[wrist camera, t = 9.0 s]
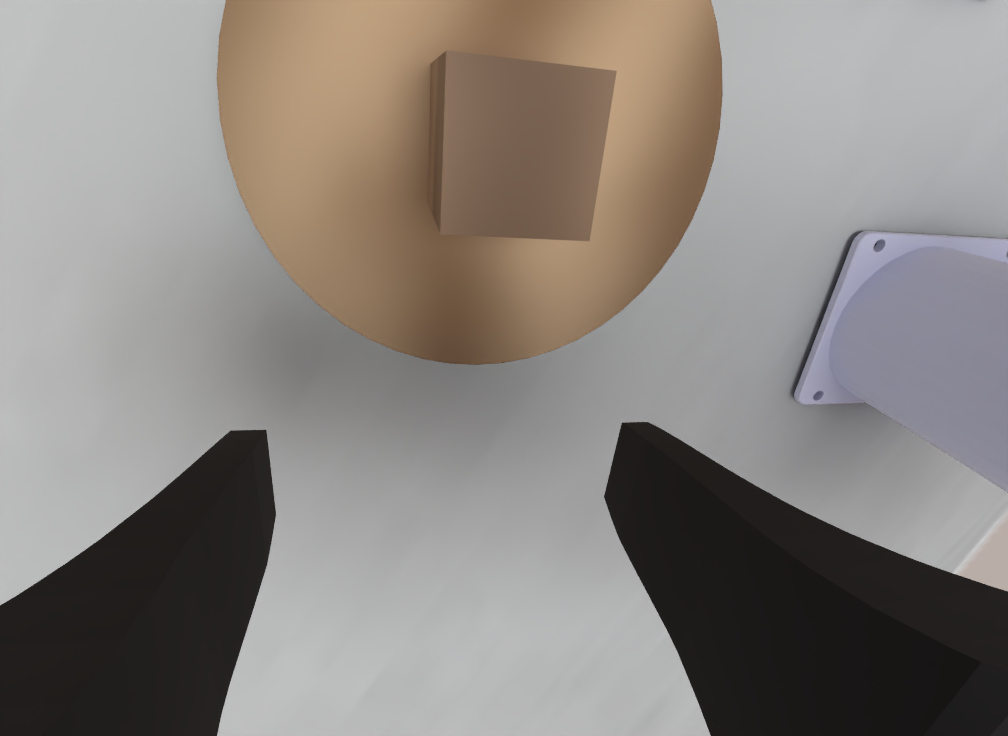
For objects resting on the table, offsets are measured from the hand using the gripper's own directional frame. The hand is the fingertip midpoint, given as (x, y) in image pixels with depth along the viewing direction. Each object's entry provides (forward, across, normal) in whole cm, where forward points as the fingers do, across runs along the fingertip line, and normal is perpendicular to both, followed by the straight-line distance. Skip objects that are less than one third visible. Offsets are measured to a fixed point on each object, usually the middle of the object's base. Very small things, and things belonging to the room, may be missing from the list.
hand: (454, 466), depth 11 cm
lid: (+6, -1, -6) cm, 8 cm away
